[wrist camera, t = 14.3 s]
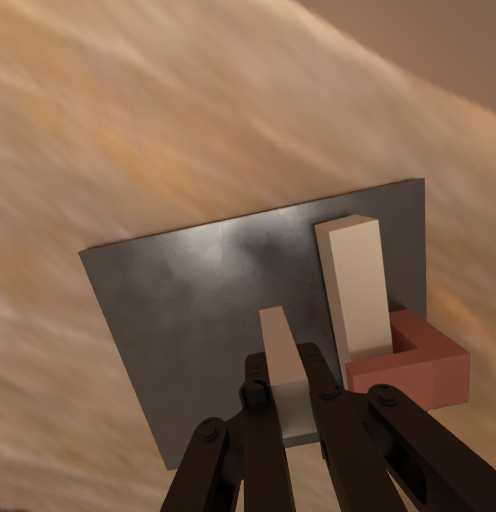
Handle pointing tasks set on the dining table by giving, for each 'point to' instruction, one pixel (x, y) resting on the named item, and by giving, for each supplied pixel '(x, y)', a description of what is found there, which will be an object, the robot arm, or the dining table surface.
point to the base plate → (239, 300)
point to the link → (355, 288)
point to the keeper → (416, 365)
